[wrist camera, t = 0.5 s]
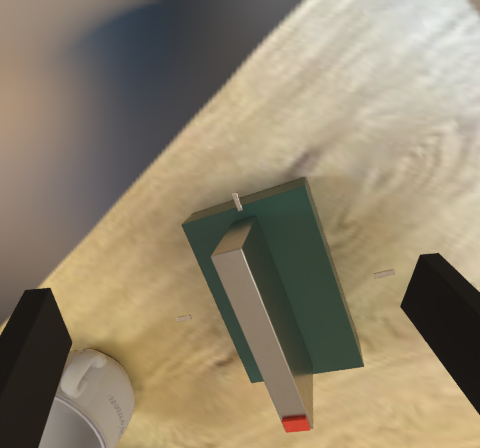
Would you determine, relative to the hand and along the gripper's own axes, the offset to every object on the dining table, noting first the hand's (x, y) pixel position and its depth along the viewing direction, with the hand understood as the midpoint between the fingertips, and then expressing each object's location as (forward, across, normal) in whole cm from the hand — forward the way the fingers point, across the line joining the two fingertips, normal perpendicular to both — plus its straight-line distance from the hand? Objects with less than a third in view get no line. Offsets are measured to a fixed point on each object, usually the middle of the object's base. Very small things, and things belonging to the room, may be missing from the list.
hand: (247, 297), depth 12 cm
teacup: (+16, -13, -25) cm, 32 cm away
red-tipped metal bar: (+10, +4, -11) cm, 15 cm away
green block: (+13, +5, -11) cm, 18 cm away
